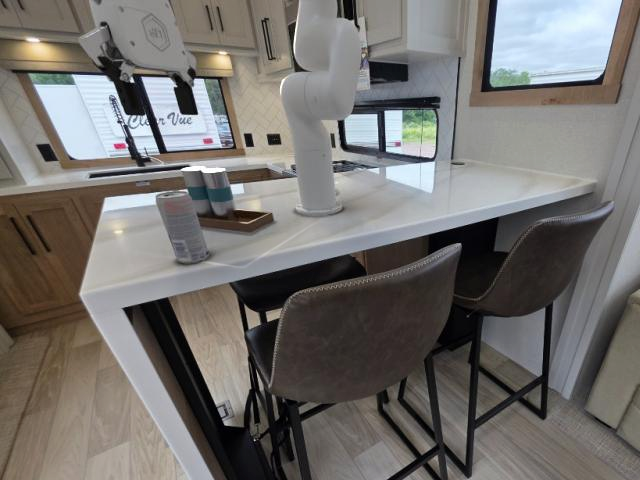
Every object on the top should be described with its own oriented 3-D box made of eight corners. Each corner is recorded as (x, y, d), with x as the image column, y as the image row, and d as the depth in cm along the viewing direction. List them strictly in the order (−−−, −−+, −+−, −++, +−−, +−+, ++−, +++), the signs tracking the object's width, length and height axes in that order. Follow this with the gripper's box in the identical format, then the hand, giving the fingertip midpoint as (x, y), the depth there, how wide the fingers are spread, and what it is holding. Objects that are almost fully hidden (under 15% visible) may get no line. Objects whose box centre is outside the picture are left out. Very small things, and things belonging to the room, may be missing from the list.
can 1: (208, 216, 84) (193, 166, 78) (224, 218, 83) (211, 167, 77) (192, 222, 80) (175, 169, 74) (209, 224, 79) (193, 171, 73)
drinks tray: (210, 215, 86) (207, 205, 85) (274, 222, 82) (272, 212, 81) (181, 226, 79) (178, 215, 77) (250, 234, 74) (247, 223, 73)
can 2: (226, 218, 83) (212, 167, 77) (243, 220, 82) (231, 168, 75) (211, 224, 79) (195, 171, 72) (229, 226, 77) (214, 172, 71)
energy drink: (199, 250, 66) (179, 189, 60) (215, 256, 64) (196, 193, 57) (172, 260, 62) (147, 195, 56) (188, 266, 60) (164, 199, 53)
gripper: (68, -67, 35) (131, 116, 44) (195, -15, 50) (224, 115, 58) (18, -60, 37) (88, 115, 45) (156, -12, 51) (189, 114, 60)
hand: (164, 115), depth 52 cm, fingers open, 9 cm apart
